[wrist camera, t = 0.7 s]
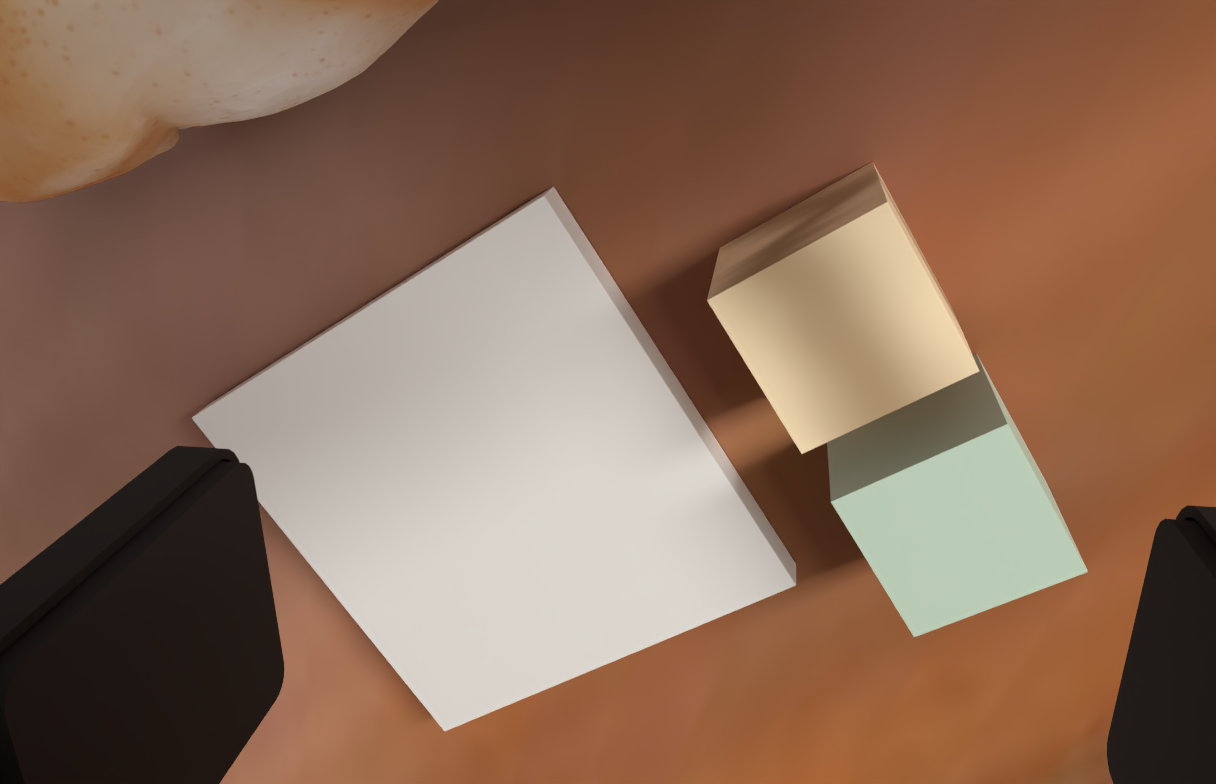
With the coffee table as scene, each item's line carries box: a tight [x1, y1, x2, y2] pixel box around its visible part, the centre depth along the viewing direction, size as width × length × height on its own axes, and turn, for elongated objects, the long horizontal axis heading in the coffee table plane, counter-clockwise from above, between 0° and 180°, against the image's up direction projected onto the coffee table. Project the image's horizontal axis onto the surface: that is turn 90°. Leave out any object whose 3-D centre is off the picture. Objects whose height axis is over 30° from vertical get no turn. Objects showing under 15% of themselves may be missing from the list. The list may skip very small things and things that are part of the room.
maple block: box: [707, 162, 979, 454], centre depth 33 cm, size 6×6×6 cm
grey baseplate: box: [192, 186, 796, 731], centre depth 41 cm, size 18×18×2 cm
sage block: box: [827, 353, 1088, 637], centre depth 35 cm, size 6×6×6 cm
